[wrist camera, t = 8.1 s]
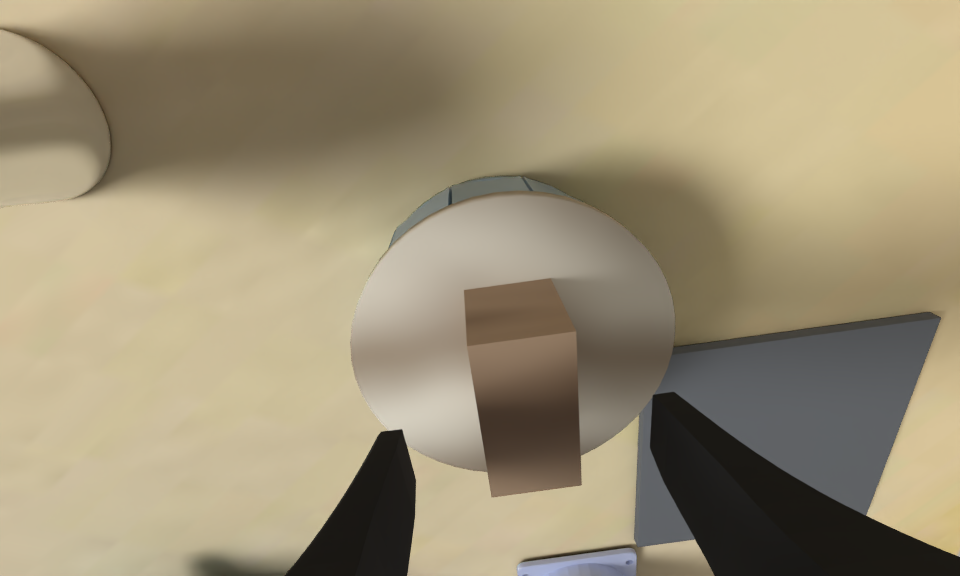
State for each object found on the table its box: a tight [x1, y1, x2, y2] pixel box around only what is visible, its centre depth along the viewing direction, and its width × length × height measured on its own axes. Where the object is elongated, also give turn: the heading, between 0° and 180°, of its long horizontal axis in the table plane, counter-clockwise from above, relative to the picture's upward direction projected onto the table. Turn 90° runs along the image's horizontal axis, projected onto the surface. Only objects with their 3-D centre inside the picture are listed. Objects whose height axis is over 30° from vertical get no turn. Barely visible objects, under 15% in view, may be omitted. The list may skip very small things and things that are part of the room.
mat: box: [634, 312, 941, 547], centre depth 26 cm, size 15×15×1 cm
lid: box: [350, 191, 675, 497], centre depth 15 cm, size 12×12×4 cm
